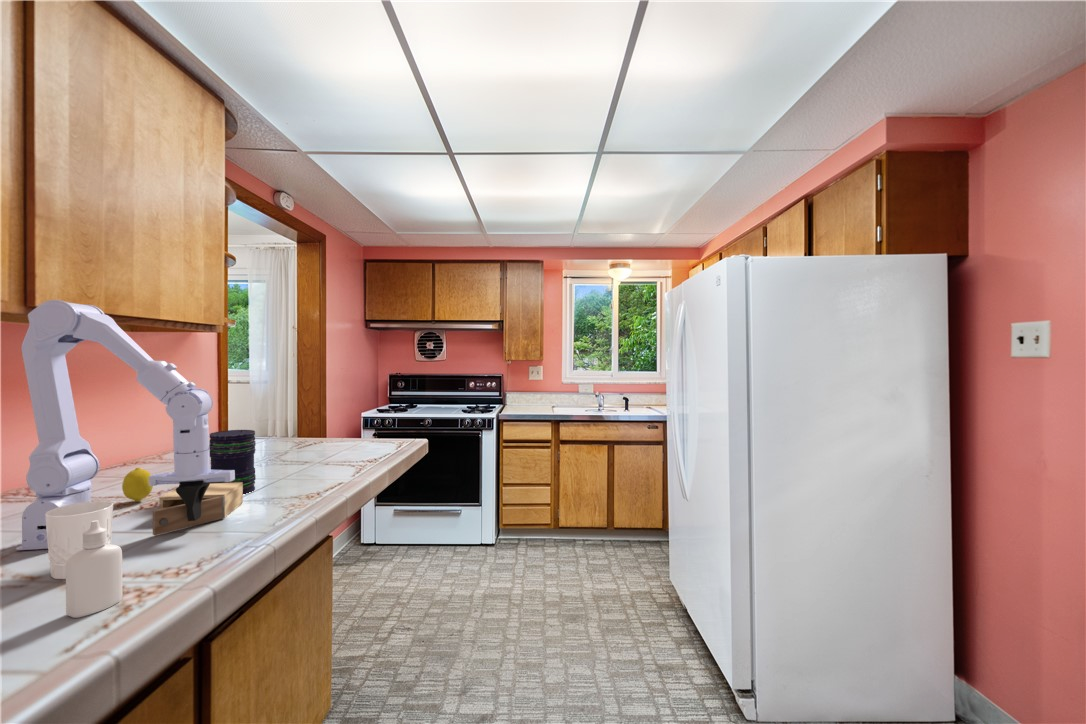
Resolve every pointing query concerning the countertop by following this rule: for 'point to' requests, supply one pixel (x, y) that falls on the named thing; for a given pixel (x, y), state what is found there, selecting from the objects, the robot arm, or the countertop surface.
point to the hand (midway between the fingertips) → (194, 519)
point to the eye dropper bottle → (93, 574)
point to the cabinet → (210, 496)
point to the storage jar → (234, 455)
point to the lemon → (137, 484)
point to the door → (177, 515)
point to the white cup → (73, 531)
